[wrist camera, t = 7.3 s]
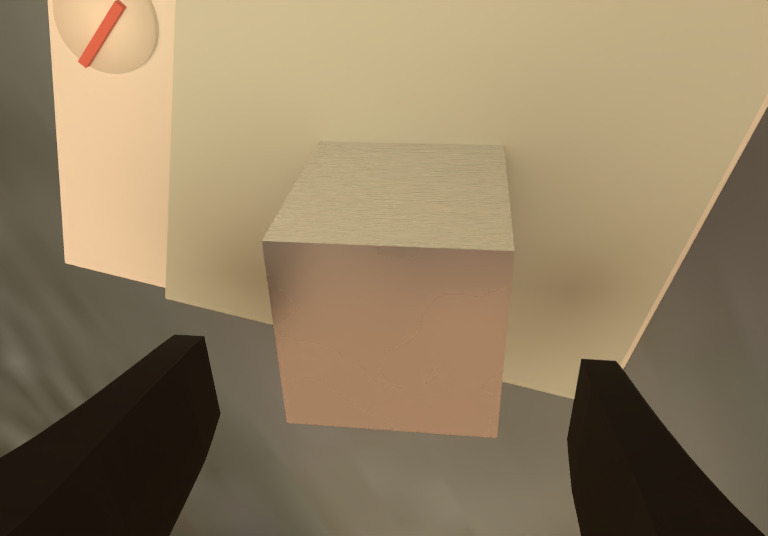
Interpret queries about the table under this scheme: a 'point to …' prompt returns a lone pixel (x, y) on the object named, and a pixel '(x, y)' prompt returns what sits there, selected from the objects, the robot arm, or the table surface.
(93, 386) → the table surface
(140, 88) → the scale housing
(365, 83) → the pan
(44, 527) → the robot arm
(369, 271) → the tan brown block
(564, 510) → the table surface
